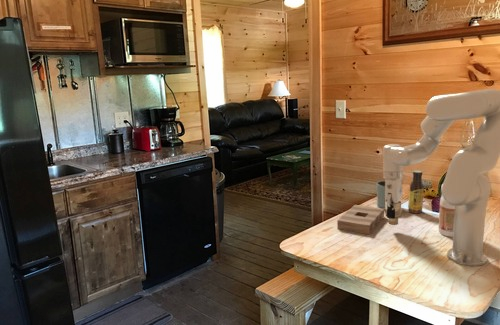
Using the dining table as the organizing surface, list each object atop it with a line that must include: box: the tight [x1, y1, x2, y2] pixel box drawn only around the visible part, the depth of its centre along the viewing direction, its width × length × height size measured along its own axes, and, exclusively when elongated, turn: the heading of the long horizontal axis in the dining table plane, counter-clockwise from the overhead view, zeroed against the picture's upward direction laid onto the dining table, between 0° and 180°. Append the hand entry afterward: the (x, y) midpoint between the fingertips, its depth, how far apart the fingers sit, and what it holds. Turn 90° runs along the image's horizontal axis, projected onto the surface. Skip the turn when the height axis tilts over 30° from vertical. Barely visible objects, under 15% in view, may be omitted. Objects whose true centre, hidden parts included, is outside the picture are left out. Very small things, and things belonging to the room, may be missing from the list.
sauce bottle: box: [407, 170, 425, 214], centre depth 187 cm, size 7×6×20 cm
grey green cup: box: [376, 180, 385, 210], centre depth 198 cm, size 10×10×12 cm
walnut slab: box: [336, 204, 385, 235], centre depth 180 cm, size 22×14×4 cm, turn 146°
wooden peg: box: [384, 200, 402, 226], centre depth 168 cm, size 6×6×10 cm
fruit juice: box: [438, 166, 455, 238], centre depth 161 cm, size 9×9×28 cm
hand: (393, 215), depth 168 cm, fingers closed on wooden peg, 6 cm apart
